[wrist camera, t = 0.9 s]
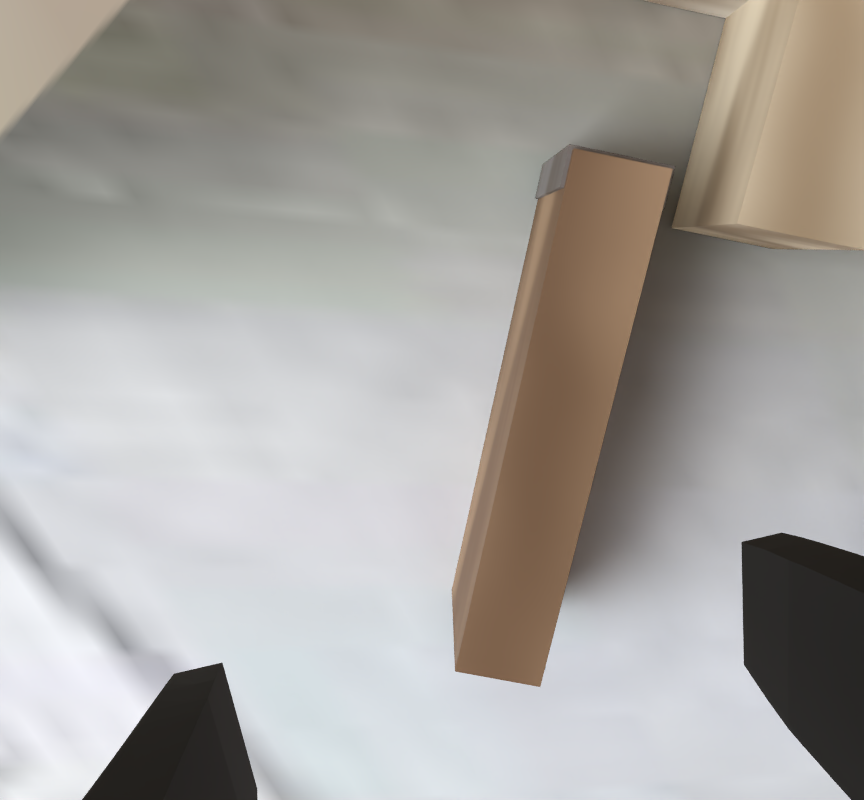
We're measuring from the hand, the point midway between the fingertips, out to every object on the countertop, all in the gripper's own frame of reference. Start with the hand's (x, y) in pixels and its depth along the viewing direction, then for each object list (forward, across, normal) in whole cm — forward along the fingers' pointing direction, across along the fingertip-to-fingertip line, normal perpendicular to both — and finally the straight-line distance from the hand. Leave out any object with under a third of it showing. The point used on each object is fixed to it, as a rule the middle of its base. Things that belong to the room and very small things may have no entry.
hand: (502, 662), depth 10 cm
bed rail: (+14, -5, +1) cm, 14 cm away
